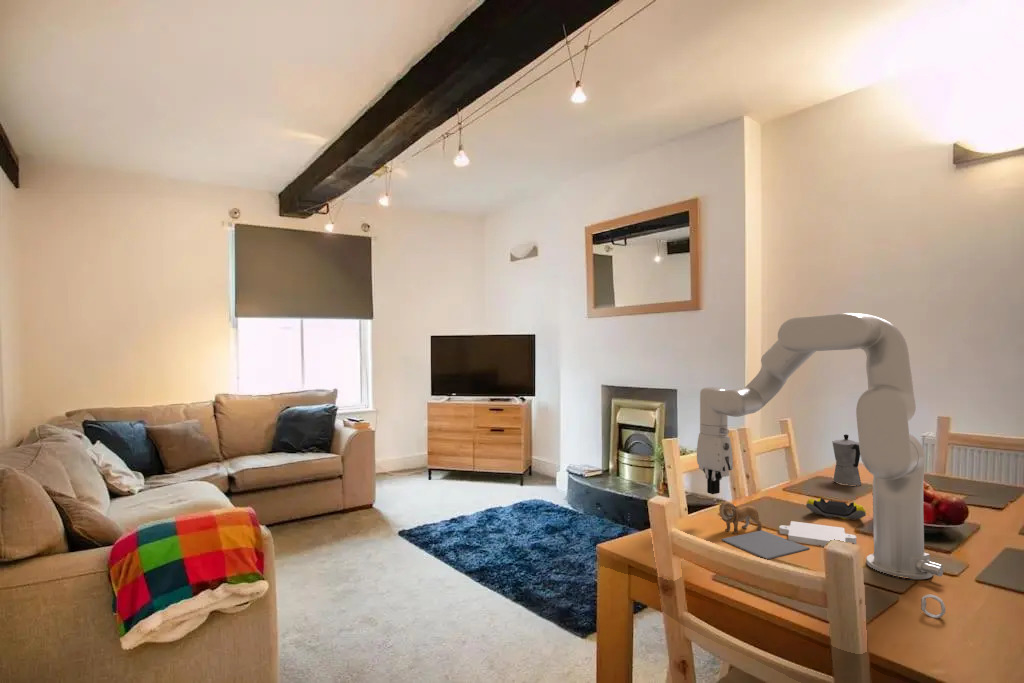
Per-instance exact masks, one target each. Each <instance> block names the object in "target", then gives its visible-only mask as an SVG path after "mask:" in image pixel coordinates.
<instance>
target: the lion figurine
mask: <svg viewBox="0 0 1024 683" xmlns="http://www.w3.org/2000/svg"><path fill="white" fill-rule="evenodd" d="M718 506H719V514H720V518H721V520H722V521H724V523H725V525H726V528H725V530H724V531H725V532H727V531H728V532H730V531H731V524H733V532H732V533H733V534H734V535H739V534H738V533H739V528H738V526H739V522H743V521H745V524H744V525H742V526H741V528H742V529H747V528H748V526H749V525H750V522H751V521H750V519H751V520H752V521H753V522H754V523H756V525H757V526H756V530H757V531H761V530H762V521H761V520H760V518H759V513H758V511H757V510H758V509H757V508H755V506H753V505H743V506H741V507H737V506H736V505H734V504H733V503H732V502H730V501H728V500H727V501H722V502H721V504H720V505H718Z"/></svg>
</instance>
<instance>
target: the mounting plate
mask: <svg viewBox="0 0 1024 683" xmlns="http://www.w3.org/2000/svg"><path fill="white" fill-rule="evenodd" d="M778 529H779V534H781V535H787V536H788V538H787V540H790V541H793V542H795V543H798V544H808V545H812V546H813V545H814V546H819V545H821V546H820V547H826V546H825V545H826V544H827V543H828V542H829V541H830V540H834V539H835V540H840V541H844V542H851V543H854V544H853V545H856V544H857V535H855V534H851V533H846V531H845V527H842V526H841V527H840V526H833V525H832V526H831V525H824V524H818V523H809V522H801V521H794V520H791V521H790V524H789V525H784V524H783V525H782V524H781V525H779V528H778Z"/></svg>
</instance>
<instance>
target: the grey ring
mask: <svg viewBox="0 0 1024 683" xmlns="http://www.w3.org/2000/svg"><path fill="white" fill-rule="evenodd" d="M927 598H928V599H929V598H931V599H933V600H935V601H937V602H938V603H939V604H940V609H941V612H940V613H939V614H933V613H931V612H929V611H927ZM920 603H921V604H920V607H921V608H920V609H921V611H922V612H923V613H924V614H925V615H927V616H928V617H929V618H933V619H940V618H942V617H943V616H944V615H945V613H946V605H945V603H944V600H943V599H942V598H940V597H939V596H937V595H935V594H931V593H930V594H925V595H924V596H922V597H921V600H920Z"/></svg>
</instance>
